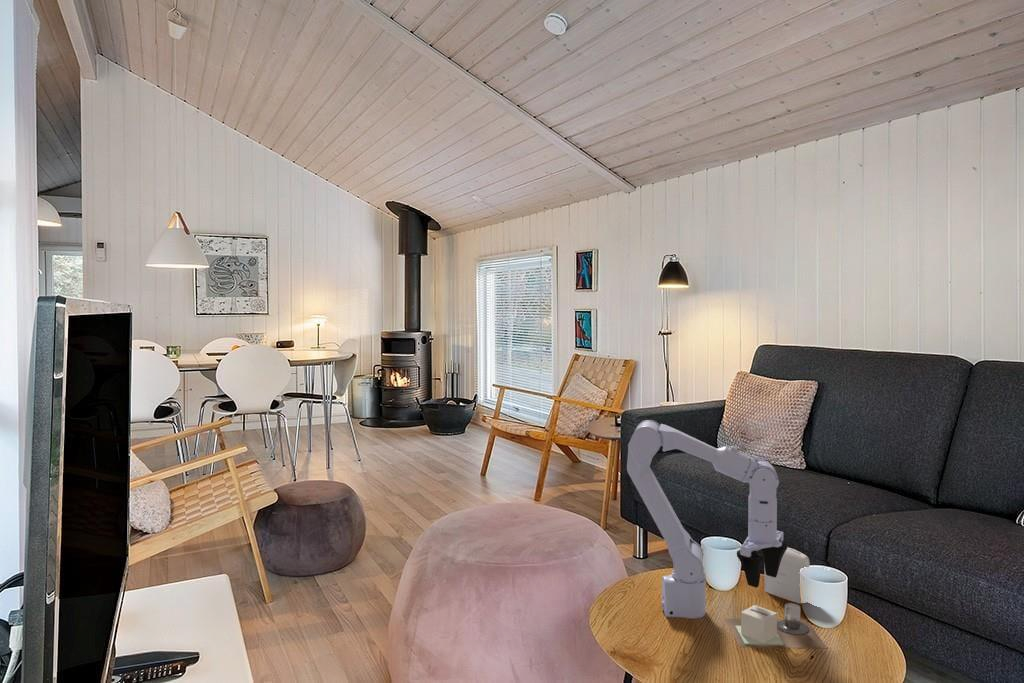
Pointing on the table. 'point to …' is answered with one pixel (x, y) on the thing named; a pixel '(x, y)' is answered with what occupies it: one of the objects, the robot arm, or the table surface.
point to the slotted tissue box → (759, 623)
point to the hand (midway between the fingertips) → (762, 580)
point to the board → (783, 637)
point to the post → (792, 621)
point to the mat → (750, 641)
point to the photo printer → (787, 576)
